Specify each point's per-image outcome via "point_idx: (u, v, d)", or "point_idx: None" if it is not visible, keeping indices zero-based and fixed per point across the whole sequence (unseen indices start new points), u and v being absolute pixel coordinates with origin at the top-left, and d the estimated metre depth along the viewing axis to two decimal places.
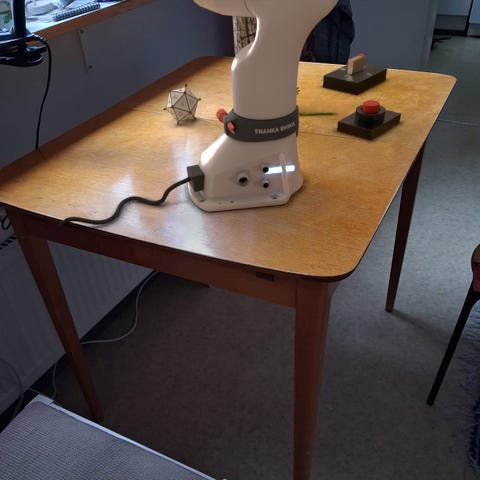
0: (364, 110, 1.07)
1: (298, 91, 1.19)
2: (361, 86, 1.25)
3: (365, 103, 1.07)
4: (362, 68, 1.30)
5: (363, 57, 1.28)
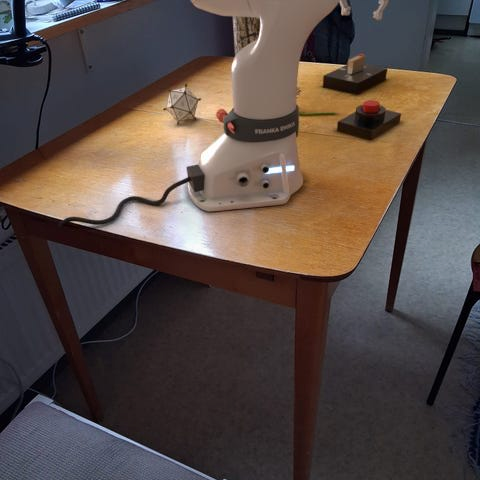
0: (364, 110, 1.07)
1: (299, 91, 1.18)
2: (361, 86, 1.25)
3: (365, 103, 1.07)
4: (362, 68, 1.30)
5: (363, 57, 1.28)
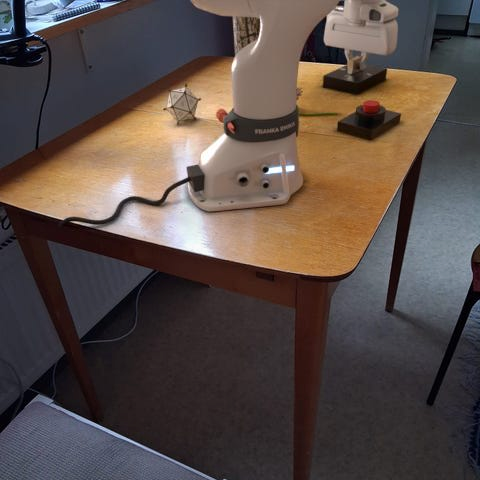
0: (364, 110, 1.07)
1: (301, 92, 1.18)
2: (361, 86, 1.25)
3: (365, 103, 1.07)
4: None
5: None
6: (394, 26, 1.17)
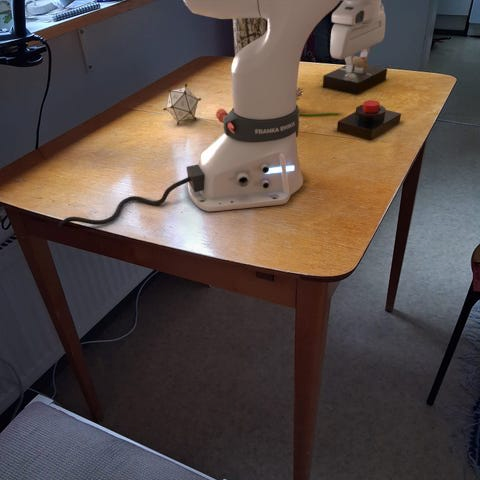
0: (364, 110, 1.07)
1: (301, 92, 1.18)
2: (361, 86, 1.25)
3: (365, 103, 1.07)
4: (360, 72, 1.28)
5: (360, 60, 1.26)
6: (341, 31, 1.17)
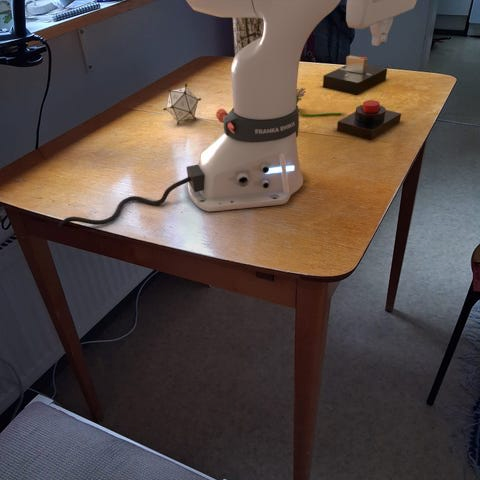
0: (364, 110, 1.07)
1: (304, 92, 1.18)
2: (361, 86, 1.25)
3: (365, 103, 1.07)
4: (360, 72, 1.28)
5: (360, 60, 1.26)
6: None
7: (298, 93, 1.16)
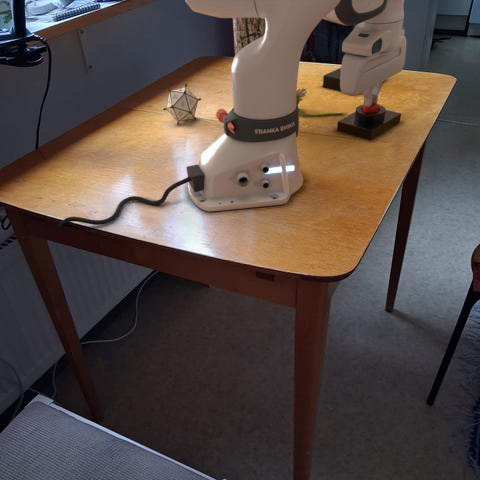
0: None
1: (305, 92, 1.17)
2: None
3: None
4: None
5: None
6: (354, 64, 0.95)
7: (299, 93, 1.16)
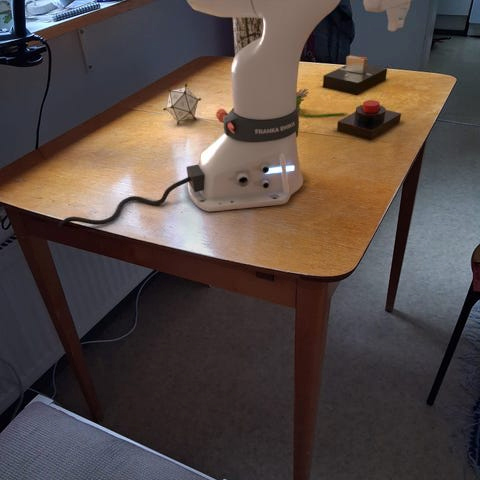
0: (364, 110, 1.07)
1: (306, 93, 1.17)
2: (361, 86, 1.25)
3: (365, 103, 1.07)
4: (360, 72, 1.28)
5: (360, 60, 1.26)
6: None
7: (301, 94, 1.16)
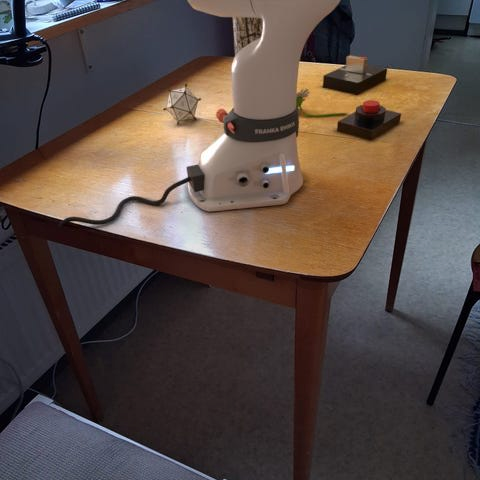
0: (364, 110, 1.07)
1: (308, 93, 1.17)
2: (361, 86, 1.25)
3: (365, 103, 1.07)
4: (360, 72, 1.28)
5: (360, 60, 1.26)
6: None
7: (302, 94, 1.16)
